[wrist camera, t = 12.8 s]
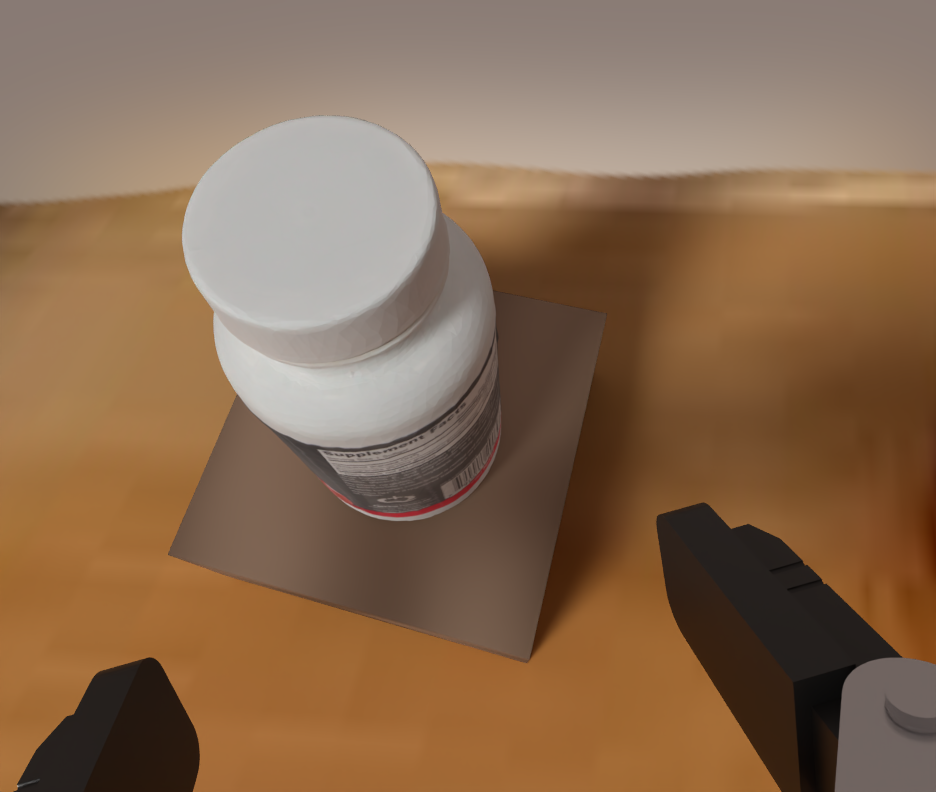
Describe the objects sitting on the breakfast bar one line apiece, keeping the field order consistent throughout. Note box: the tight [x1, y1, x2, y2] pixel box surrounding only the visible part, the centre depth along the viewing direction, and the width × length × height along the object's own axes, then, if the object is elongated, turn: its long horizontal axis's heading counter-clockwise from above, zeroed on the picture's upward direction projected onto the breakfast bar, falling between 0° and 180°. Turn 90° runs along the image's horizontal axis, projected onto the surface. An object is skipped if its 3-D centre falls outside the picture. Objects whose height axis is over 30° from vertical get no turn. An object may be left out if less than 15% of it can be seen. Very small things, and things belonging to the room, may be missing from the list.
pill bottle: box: [182, 115, 501, 521], centre depth 15 cm, size 5×5×10 cm
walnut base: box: [168, 291, 607, 663], centre depth 21 cm, size 10×10×4 cm
